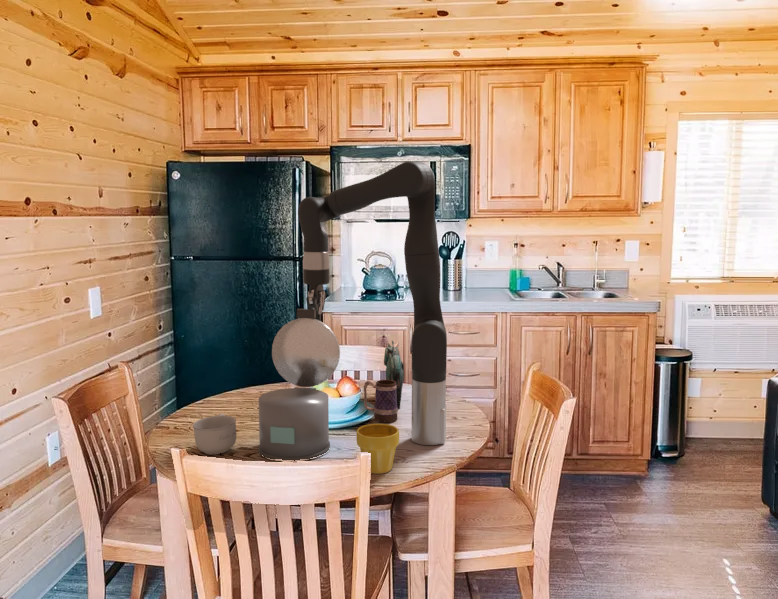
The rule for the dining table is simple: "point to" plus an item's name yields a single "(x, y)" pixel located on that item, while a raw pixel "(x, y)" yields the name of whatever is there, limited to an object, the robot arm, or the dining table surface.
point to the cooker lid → (305, 350)
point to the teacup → (215, 434)
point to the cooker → (293, 423)
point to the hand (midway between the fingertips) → (316, 326)
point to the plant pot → (379, 445)
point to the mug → (383, 400)
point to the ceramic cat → (394, 369)
